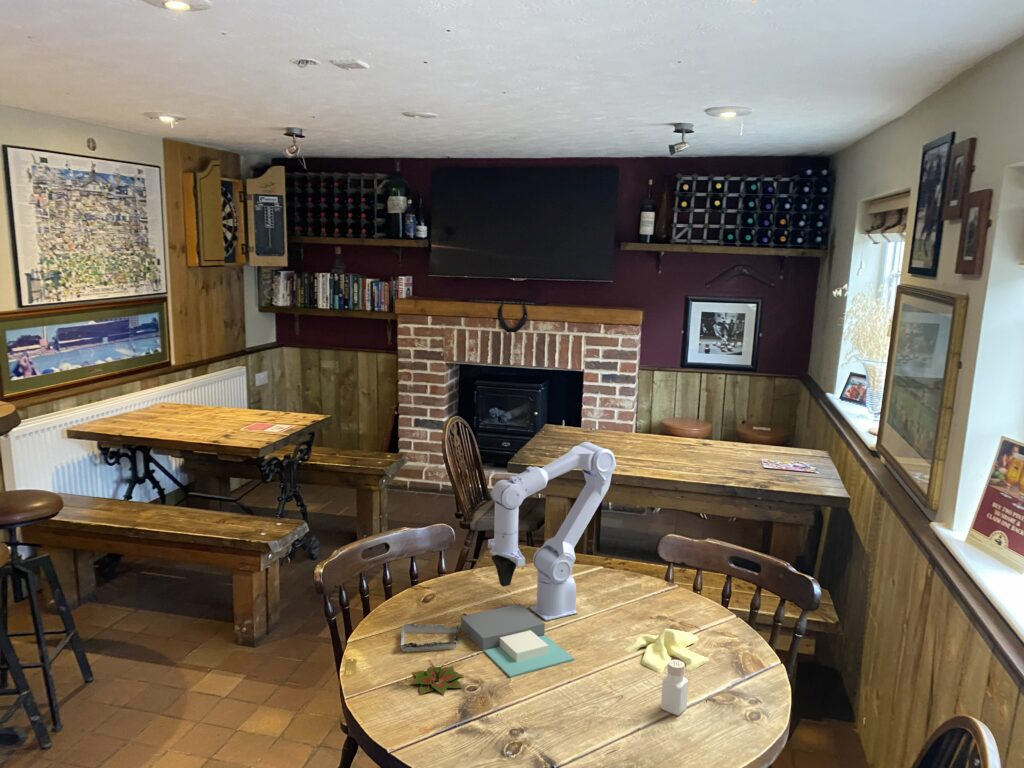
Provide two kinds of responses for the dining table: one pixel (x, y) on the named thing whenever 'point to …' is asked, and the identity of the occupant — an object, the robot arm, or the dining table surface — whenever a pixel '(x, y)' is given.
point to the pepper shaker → (674, 688)
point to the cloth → (667, 649)
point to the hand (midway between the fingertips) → (505, 584)
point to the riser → (500, 625)
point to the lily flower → (437, 678)
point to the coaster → (523, 645)
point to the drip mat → (522, 667)
